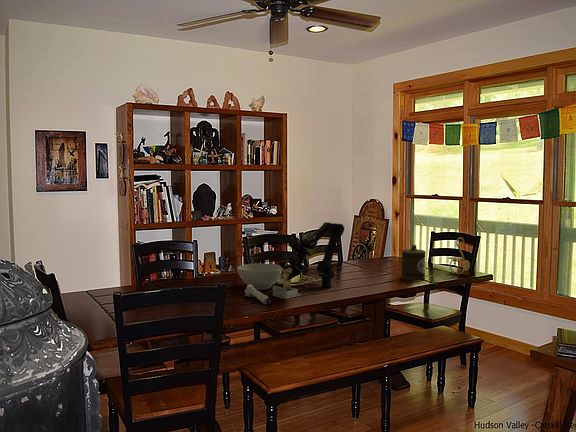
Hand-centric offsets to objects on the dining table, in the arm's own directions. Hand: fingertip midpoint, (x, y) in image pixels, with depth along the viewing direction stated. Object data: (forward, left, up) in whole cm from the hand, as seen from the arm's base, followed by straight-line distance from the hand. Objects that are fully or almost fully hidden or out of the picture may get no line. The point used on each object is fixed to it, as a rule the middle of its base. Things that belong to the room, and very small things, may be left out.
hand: (285, 279), depth 279 cm
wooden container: (-81, +48, -9) cm, 95 cm away
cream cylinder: (-1, 0, -7) cm, 7 cm away
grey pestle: (+14, -9, -10) cm, 19 cm away
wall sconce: (-110, +70, -9) cm, 131 cm away
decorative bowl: (-11, -24, -9) cm, 28 cm away
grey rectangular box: (-1, 0, -9) cm, 9 cm away
